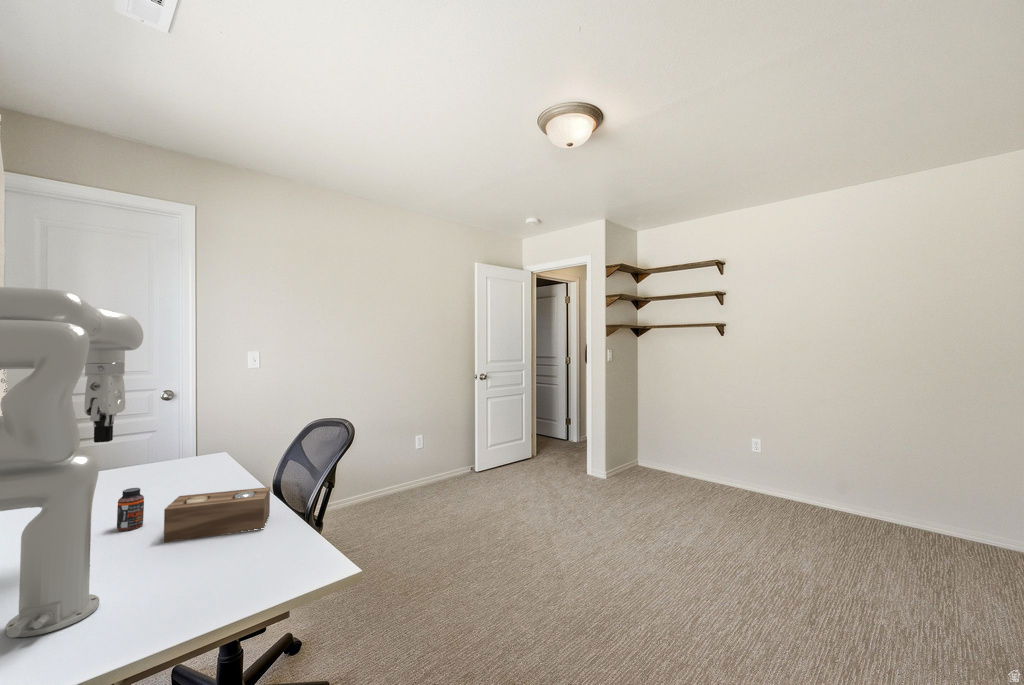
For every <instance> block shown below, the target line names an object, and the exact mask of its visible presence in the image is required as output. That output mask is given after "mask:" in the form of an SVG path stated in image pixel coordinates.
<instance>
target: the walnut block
mask: <svg viewBox="0 0 1024 685" xmlns="http://www.w3.org/2000/svg"><path fill="white" fill-rule="evenodd" d="M241 492H254V497H245V498H235V495H236V494H238V493H241ZM199 496H206V497H208V500H207V501H206V502H197V503H188V504H186V501H187V500H188V499H190V498H193V497H199ZM270 498H271V487H270V486H268V487H258V488H257V487H255V488H247V489H238V490H226V491H218V492H217V491H216V492H215V491H214V492H208V493H207V492H204V493H195V494H187V495H179V496H177V497H176V498H175V499H174V500H173V501H172V502H171V503H170V504H168V505H167V506H166V507H164V509H163V510H164V513H163V515H164V516H163V543H169V542H177V541H184V540H190V539H191V540H192V539H193V540H194V539H199V538H205V537H215V536H216V537H217V536H223V535H222V534H224V535H229V534H228V533H232V534H237V533H236V532H240V533H242V532H241V531H247V532H249V531H248V530H254V529H261V528H264V529H265V527H266V525H265V523H266V524H267V522H268V520H267V519H269V518H270V515H269V514H270V509H271V508H270V507H271V499H270ZM268 517H269V518H268ZM266 521H267V522H266ZM264 526H265V527H264Z"/></svg>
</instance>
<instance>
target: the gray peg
mask: <svg viewBox="0 0 1024 685" xmlns="http://www.w3.org/2000/svg"><path fill="white" fill-rule="evenodd" d="M245 497H254V492H241V493H238V494H236V495H235V498H245Z"/></svg>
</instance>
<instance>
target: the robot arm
mask: <svg viewBox="0 0 1024 685" xmlns="http://www.w3.org/2000/svg"><path fill="white" fill-rule="evenodd" d="M143 341H144V330H143V328H142V326H141V324H140V322H139V321H138V319H136V318H135V317H133V316H131V315H128V314H126V313H121V312H116V311H111V310H108V309H103V308H100V307H95V306H93V305H91V304H89V303H88V302H87V301H85V300H84V299H83V298H81V297H80V296H78V295H77V294H75V293H73V292H70V291H66V290H60V289H49V288H48V289H47V288H31V287H29V288H28V287H15V286H14V287H11V286H0V370H33V369H34V370H33V371H32V372H31V373H30V374H29V375H27V376H26V377H25V378H23V379H21V380H20V381H19V382H17V383H16V384H15V385H13V386H12V387H11V388H10V389H9V390H8V391H6V393H5V394H4V396H2V398H1V401H0V411H1V413H2V415H0V512H5V511H13V510H20V509H22V510H23V509H27V508H30V509H31V508H40V509H41V511H40V512H39V513H38V514H37V515H35V516H34V518H32V520H31V519H30V521H29V522H28V523H27V525H26V526H25V527H24V529H23V531H22V533H21V535H20V536H21V537H20V560H19V563H20V564H19V565H20V566H19V588H18V590H19V593H18V594H19V595H18V614H17V615H14V617H12V619H10V620H9V621H8V622H7V623H6V624H5V625H6V626H5V634H6V635H7V637H8V638H13V639H14V638H27V637H34V636H39V635H43V634H48V633H51V632H54V631H58V630H61V629H63V628H66V627H68V626H72V625H73V624H76V623H78V622H80V621H81V620H83V619H85V618H87V617H89V616H90V615H91V614H92V613H94V612H95V611H96V610H97V609H98V607H99V605H100V597H99V596H97V595H95V594H91V593H90V575H91V573H90V571H91V570H90V567H91V540H92V538H91V537H92V513H93V512H92V510H93V502H94V496H95V492H96V486H97V483H98V482H97V481H98V478H99V470H100V468H99V466H100V465H99V463H98V461H97V460H96V458H94V457H93V456H90V455H88V454H85V453H77V452H78V451H79V448H80V443H81V435H80V430H79V427H78V426H79V425H78V422H77V418H76V412H75V409H74V404H73V403H74V402H73V395H74V391H75V388H76V386H77V384H78V382H79V380H80V377H81V375H82V373H83V371H84V377H86V378H87V379H86V384H85V385H86V386H85V392H84V414H85V415H86V416H88V417H89V416H90V417H89V421H91V422H92V424H93V443H95V444H96V443H109V442H111V441H113V439H114V424H115V417H117V414H119V413H122V412H123V411H125V409H126V390H125V388H126V387H125V381H124V380H125V379H124V376H125V372H126V371H125V370H126V369H125V367H126V364H125V363H126V362H125V361H126V351H135V350H137V349H139V348H140V346H141V345H142V343H143Z"/></svg>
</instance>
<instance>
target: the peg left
mask: <svg viewBox="0 0 1024 685" xmlns="http://www.w3.org/2000/svg"><path fill="white" fill-rule="evenodd" d="M207 500H208V497H206V496H199V497H193V498H190V499H188V500H187V501H186V504H188V503H197V502H206V501H207Z"/></svg>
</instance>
